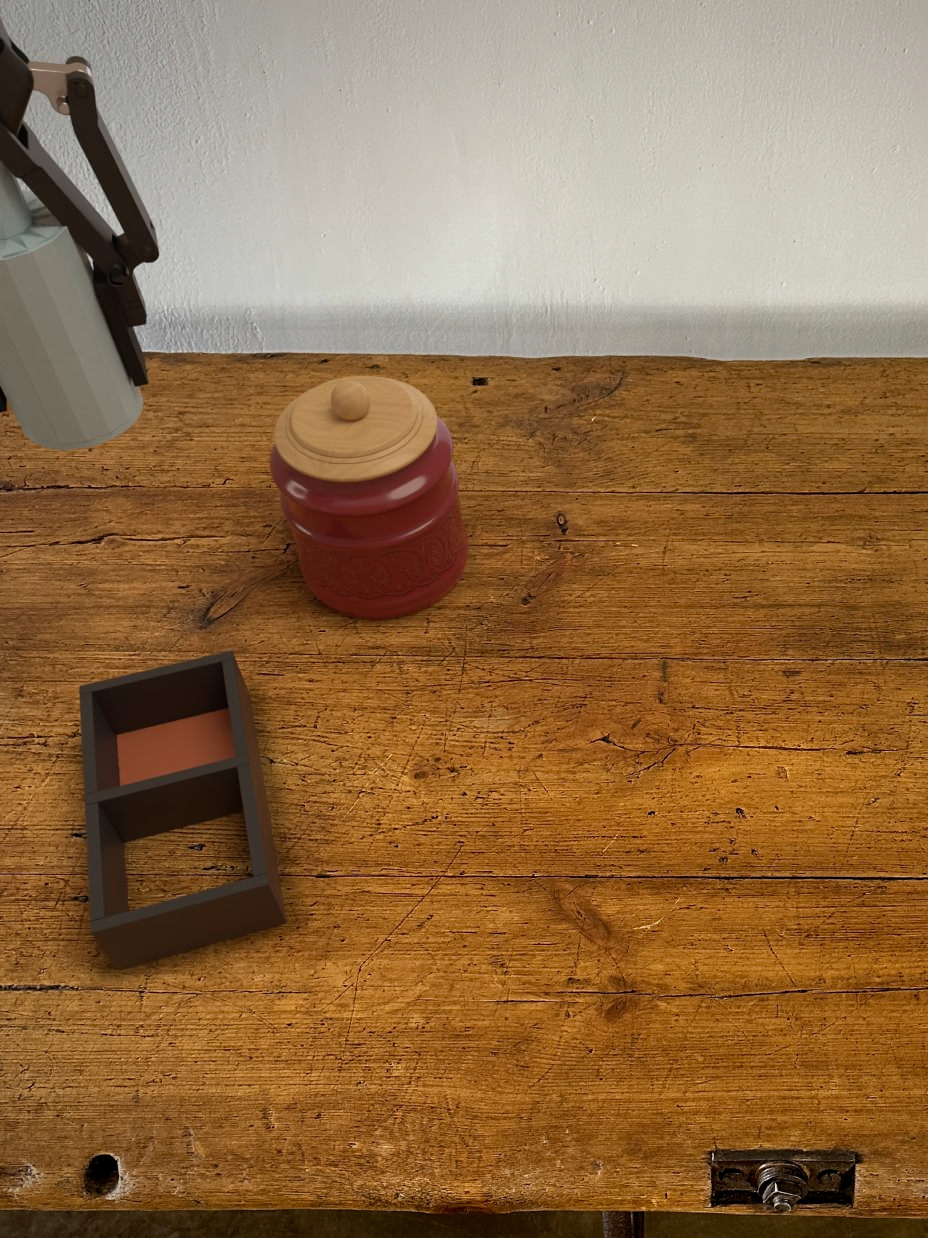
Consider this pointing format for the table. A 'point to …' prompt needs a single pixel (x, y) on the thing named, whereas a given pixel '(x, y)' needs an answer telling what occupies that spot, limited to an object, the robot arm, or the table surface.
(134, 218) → the robot arm
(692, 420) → the table surface
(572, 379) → the table surface
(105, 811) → the frame
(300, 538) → the kitchen canister
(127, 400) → the water bottle
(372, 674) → the table surface
